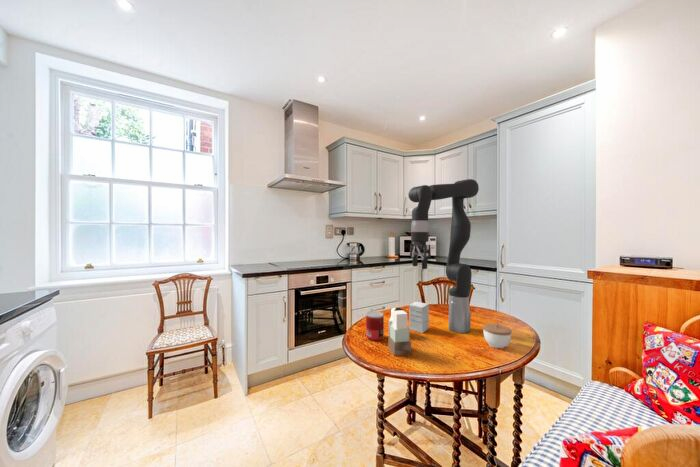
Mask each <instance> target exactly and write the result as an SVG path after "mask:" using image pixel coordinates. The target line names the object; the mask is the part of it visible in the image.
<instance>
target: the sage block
mask: <svg viewBox="0 0 700 467" xmlns="http://www.w3.org/2000/svg"><path fill="white" fill-rule="evenodd" d="M389 336H390V337H391V338H392V339H393V341H394V342H407V341H409V340H410V329H409V326H407V329H396V328H395V327H394V326H393V325H392V324H391V325H390V335H389Z"/></svg>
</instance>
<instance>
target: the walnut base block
mask: <svg viewBox="0 0 700 467" xmlns="http://www.w3.org/2000/svg"><path fill="white" fill-rule="evenodd" d="M387 338H388V344H387V346H388V349H389V350H390V352H391V353H392V355H393V356H403V355H411V354H412V341H411V340H410V339H409V341H407V342H394V341H393V339H392V338H391V337H390V335H388V336H387Z"/></svg>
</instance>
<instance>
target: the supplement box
mask: <svg viewBox="0 0 700 467" xmlns="http://www.w3.org/2000/svg"><path fill="white" fill-rule="evenodd" d="M408 306H409V308H408V310H409V311H408V314H409V317H408V318H409V324H408V328H409V330H410V331H414V332H418V333H421V334H423V333H425V332H426V331H427V330H429V324H430V323H429V322H430V320H429V319H430V316H429V315H430V312H429V310H430V304H429V303H425V302H419V301H414V302H412V303H410V304H409V305H408Z"/></svg>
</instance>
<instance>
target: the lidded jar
mask: <svg viewBox="0 0 700 467" xmlns="http://www.w3.org/2000/svg"><path fill="white" fill-rule="evenodd" d="M482 329H483V330H482V331H483V337H484V340H485V341H486V343H488V344H487V345H489V347H491V346H492V347H491V348H494V347H495V349H498V348H503V349H505V348H506V347H508V346H509V344H510V342H511V339H512V332H513V331H512V329H511V328H510V327H508V326H506V325H503V324H499V323H492V322H490V323H484V324H483V325H482ZM504 347H505V348H504Z"/></svg>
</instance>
